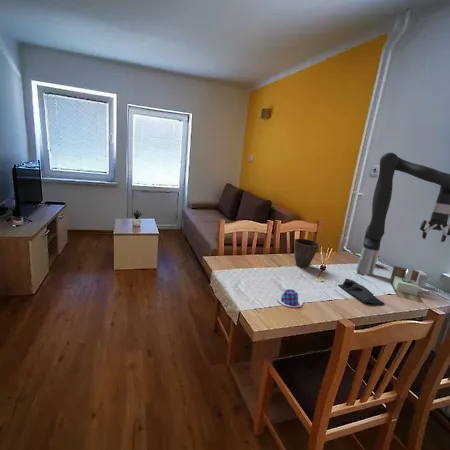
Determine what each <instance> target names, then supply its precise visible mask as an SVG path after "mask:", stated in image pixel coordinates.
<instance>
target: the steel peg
mask: <svg viewBox="0 0 450 450" xmlns="http://www.w3.org/2000/svg"><path fill="white" fill-rule="evenodd" d="M413 270H414V269H411V268H406V272H405V276H404V280H403V282H406V283H409V282H410V279H411V275H412V272H413Z"/></svg>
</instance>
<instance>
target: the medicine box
mask: <svg viewBox="0 0 450 450" xmlns="http://www.w3.org/2000/svg"><path fill="white" fill-rule="evenodd" d="M414 270H415V271H418V272H419V274H418V278H417V281H416V283H417V284H418V286H419V288H426V287H425V286H426V284H427V280H428V276H429V275H428V274H426V273H425V272H424V271H422V270H419V269H414Z"/></svg>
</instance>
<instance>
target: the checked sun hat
mask: <svg viewBox="0 0 450 450" xmlns="http://www.w3.org/2000/svg"><path fill="white" fill-rule="evenodd" d="M276 300H277V301H278V303H280V304H281V305H284V306H286V307H290V308H300V307H302V306H303V305H304V302H303V301H302V299H301V298H299V294H298V292H297V291H296V290H294V289H289V288H288V289H285V290H284V292H283V293H281V294H278V295H277V296H276Z"/></svg>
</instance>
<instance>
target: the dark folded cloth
mask: <svg viewBox="0 0 450 450" xmlns="http://www.w3.org/2000/svg"><path fill="white" fill-rule="evenodd" d="M337 285H338V287H339V288H341V289H342V290H343V291H345V292H346V293H348V294H350V295H351V296H352V297H354V298H355V299H357V300H358V301H360V302H361V303H364V304H371V305H379V306H384V305H386V304H385V302H383V300H380V299H379V298H378V297H377V296H375V295H374V293H373V292H371V291H370V290H369V289H368V288H366V287H365V286H364V285H362V284H360V283H358V282H356V281H354V280H352V279H349V278H345V280H344V281H343V282H342V283H341V284H337Z"/></svg>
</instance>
